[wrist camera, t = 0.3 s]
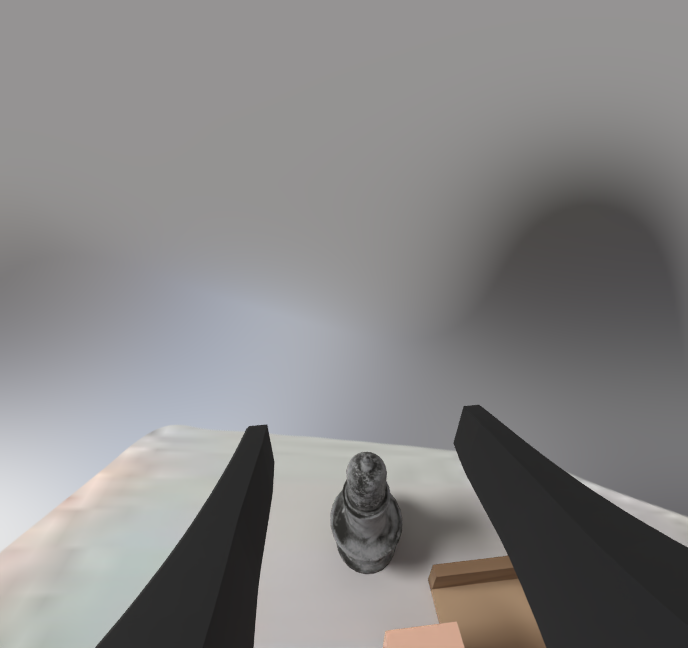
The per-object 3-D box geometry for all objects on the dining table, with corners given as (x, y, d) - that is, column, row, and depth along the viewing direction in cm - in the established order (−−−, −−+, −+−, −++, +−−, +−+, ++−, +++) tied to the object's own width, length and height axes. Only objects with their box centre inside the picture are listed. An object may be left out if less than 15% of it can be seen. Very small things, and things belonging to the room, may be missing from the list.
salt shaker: (410, 525, 26) (425, 444, 19) (379, 598, 22) (385, 526, 15) (355, 488, 29) (353, 408, 22) (319, 547, 25) (303, 468, 18)
